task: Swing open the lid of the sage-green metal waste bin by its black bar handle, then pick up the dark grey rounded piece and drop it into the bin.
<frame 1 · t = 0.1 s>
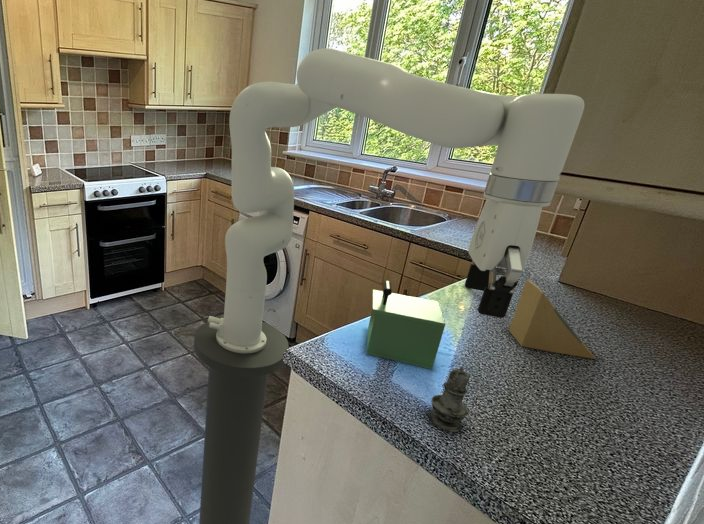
hand: (482, 301, 62), 27 cm above the worktop, tool pointing down, fingers open, 9 cm apart
waste bin: (397, 348, 98), on the worktop
dark grey rounded piece: (444, 421, 75), on the worktop
bin lid: (407, 298, 93), point 13 cm above the worktop, hinge at 0.0°
vegetable: (470, 289, 133), on the worktop
sandwich container: (550, 344, 102), on the worktop
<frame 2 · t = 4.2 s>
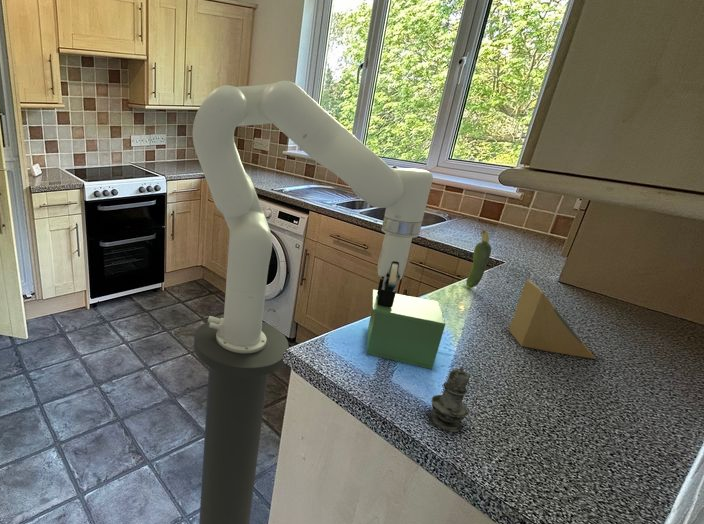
hand: (384, 299, 95), 12 cm above the worktop, tool pointing down, fingers closed on bin lid, 5 cm apart
bin lid: (407, 298, 93), point 13 cm above the worktop, hinge at 0.0°, touching gripper
everything else where it was.
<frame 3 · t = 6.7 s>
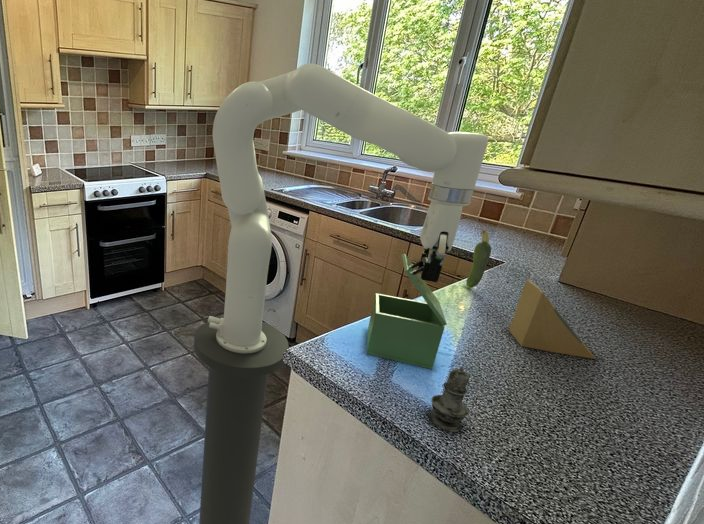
hand: (427, 274, 90), 20 cm above the worktop, tool pointing down, fingers closed on bin lid, 5 cm apart
bin lid: (432, 283, 90), point 18 cm above the worktop, hinge at 48.1°, touching gripper
everything else where it was.
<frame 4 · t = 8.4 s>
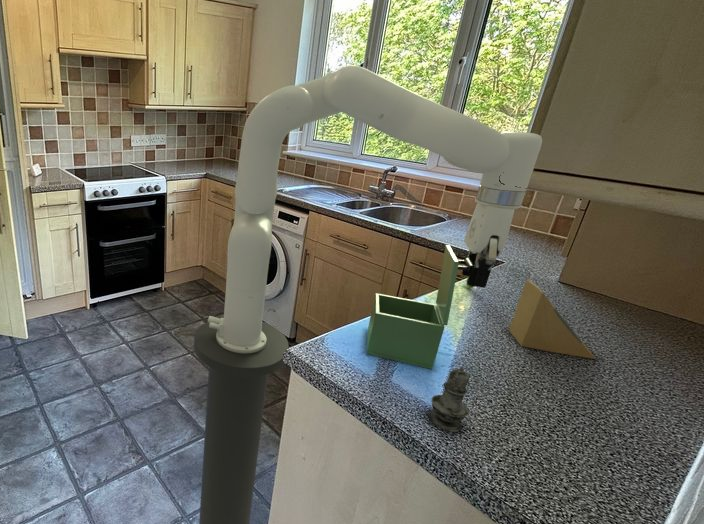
hand: (473, 280, 87), 20 cm above the worktop, tool pointing down, fingers closed on bin lid, 5 cm apart
bin lid: (457, 285, 88), point 19 cm above the worktop, hinge at 85.2°, touching gripper
everything else where it was.
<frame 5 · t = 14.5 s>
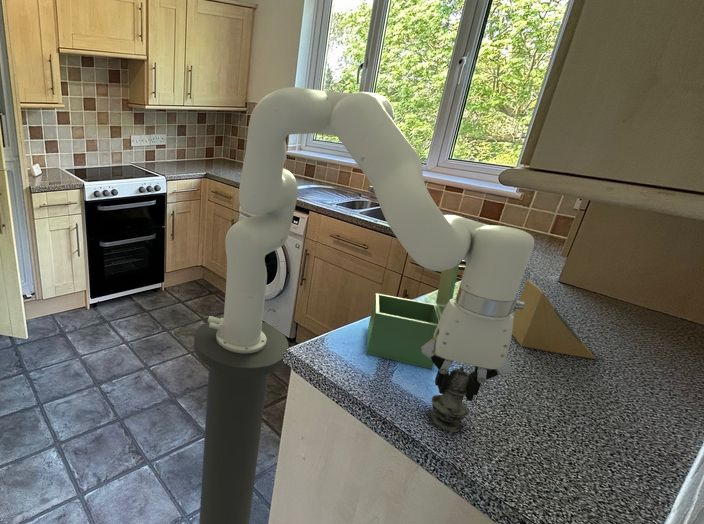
hand: (454, 391, 73), 7 cm above the worktop, tool pointing down, fingers closed on dark grey rounded piece, 3 cm apart
dark grey rounded piece: (444, 421, 75), on the worktop, touching gripper
bin lid: (457, 285, 88), point 19 cm above the worktop, hinge at 85.6°
everything else where it was.
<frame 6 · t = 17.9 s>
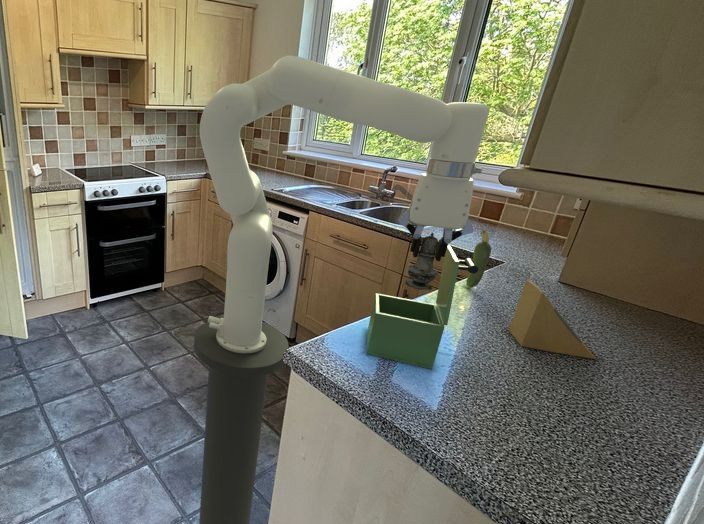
hand: (426, 256, 86), 25 cm above the worktop, tool pointing down, fingers closed on dark grey rounded piece, 3 cm apart
dark grey rounded piece: (418, 285, 88), point 18 cm above the worktop, touching gripper
everything else where it was.
when the fingers open (15 cm above the worktop, at t = 21.1 s): dark grey rounded piece drops 8 cm, resting on waste bin.
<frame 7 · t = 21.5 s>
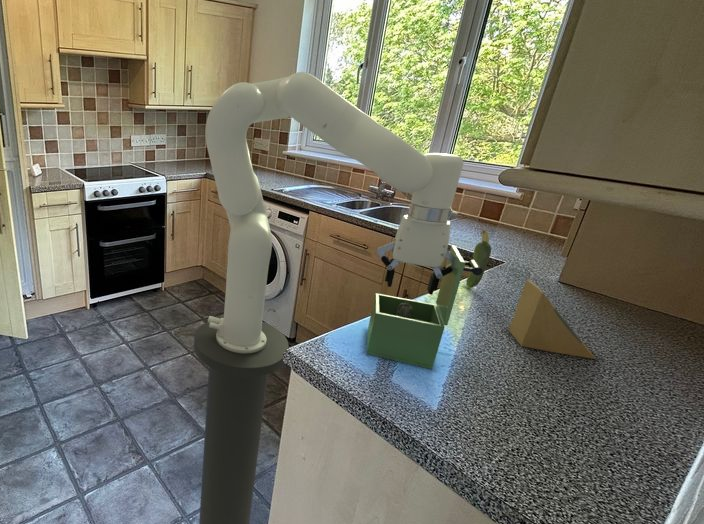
hand: (409, 288, 92), 16 cm above the worktop, tool pointing down, fingers open, 7 cm apart
dark grey rounded piece: (394, 345, 98), point 1 cm above the worktop, touching waste bin
bin lid: (460, 286, 88), point 18 cm above the worktop, hinge at 89.7°
everything else where it was.
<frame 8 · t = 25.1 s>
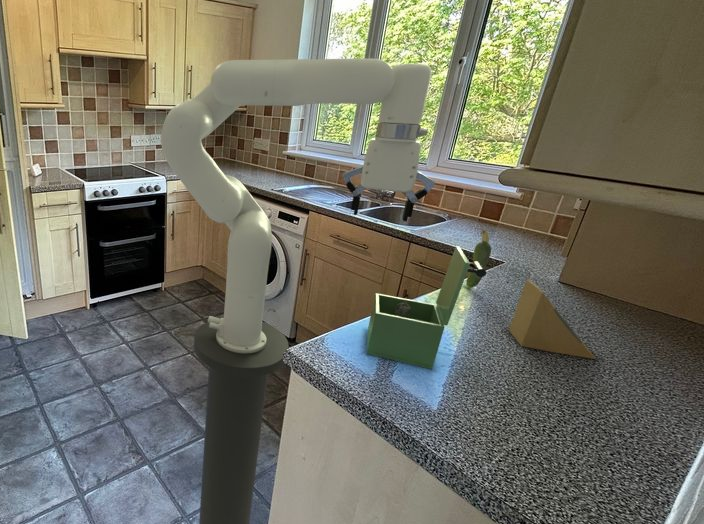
hand: (379, 216, 86), 32 cm above the worktop, tool pointing down, fingers open, 9 cm apart
bin lid: (462, 287, 88), point 18 cm above the worktop, hinge at 93.0°
everything else where it was.
at the end: bin lid at +93° (first picture: +0°); dark grey rounded piece inside the target area in the waste bin (0.8 cm from its centre), point 0.6 cm above the waste bin's base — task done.
